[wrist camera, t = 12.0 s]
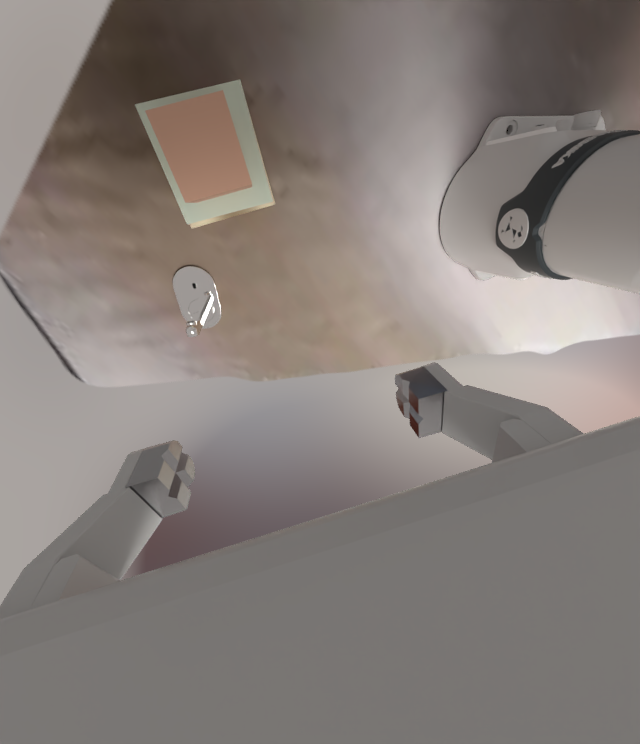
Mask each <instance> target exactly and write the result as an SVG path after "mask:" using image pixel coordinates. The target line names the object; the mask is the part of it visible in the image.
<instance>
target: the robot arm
mask: <svg viewBox="0 0 640 744" xmlns="http://www.w3.org/2000/svg"><path fill="white" fill-rule="evenodd" d="M600 115H601V110H594V111H587V112H583V113H579V114H575V115H574V116H504V117H498V118H496V119H494V120H493V121H492V122H491V123H490V125H489V126H488V128H487V130H486V132H485V133H484V135H483V137H482V139H481V142H480V144H479V146H478V148H477V149H476V151H475V152H474V153H473V155H472V156H471V157H470V158H469V159H468V160H467V161H466V163H465V164H464V165H463V166H462V167H461V169H460V170H459V171H458V173H457V174H456V176H455V177H454V179H453V181H452V182H451V184H450V186H449V188H448V191H447V193H446V196H445V198H444V202H443V205H442V209H441V215H440V236H441V241H442V244H443V247H444V249H445V251H446V253H447V254H448V256H449V257H450V258H451V259H452V260H453V261H455V262H456V263H458V264H460V265H463V266H465V267H467V268H468V269H469V270H470V271H471V273H472V274H473V276H474V277H475V278H476V279H478V280H482V281H485V280H488V279H490V278H492V277H494V276H501V277H506V278H511V279H516V280H526V279H527V278H528V277H530V276H533V275H537V276H540V277H544V278H550V279H551V278H553V279H560V280H567V279H573V278H574V279H578V280H582V281H586V282H590V283H594V284H599V285H603V286H607V287H611V288H615V289H620V290H624V291H628V292H632V293H636V294H640V131H636V130H628V131H626V130H605V123H604V119H603V117H602V116H600ZM507 127H508V133H506V130H507ZM395 384H396V385H397V387H398V388H399V389H398V391H397V392H396V399H397V403H398V406H399V409H400V411H401V412H402V414H403V415H404V417H406V418H409V419H410V426H411V427H412V429H413V430H414V432H415V433H416V434H417V436H418V437H419V438H421V437H424V436H428V435H432V434H435V433H439V432H442V433H443V434H445V435H447V436H449V437H451V438H453V439H454V440H456V441H458V442H460V443H462V444H464V445H466V446H467V447H469V448H471V449H473V450H475V451H477V452H478V453H480V454H482V455H484V456H486V457H488V458H490V459H491V460H492V463H491V464H488V465H484V466H481V467H478V468H475V469H471V470H468V471H465V472H462V473H459V474H456V475H453V476H449V477H446V478H443V479H440V480H437V481H434V482H430V483H427V484H424V485H421V486H418V487H415V488H412V489H408V490H405V491H402V492H399V493H396V494H393V495H389V496H386V497H383V498H380V499H377V500H374V501H371V502H367V503H364V504H361V505H358V506H355V507H352V508H349V509H345V510H342V511H339V512H336V513H333V514H330V515H327V516H323V517H321V518H317V519H314V520H311V521H308V522H305V523H301V524H298V525H295V526H292V527H289V528H286V529H282V530H279V531H276V532H273V533H270V534H267V535H263V536H260V537H257V538H254V539H251V540H248V541H244V542H241V543H238V544H235V545H232V546H229V547H225V548H222V549H219V550H216V551H213V552H210V553H206V554H203V555H200V556H197V557H194V558H191V559H188V560H185V561H181V562H178V563H175V564H172V565H169V566H165V567H163V568H159V569H156V570H153V571H150V572H147V573H144V574H140V575H137V576H134V577H131V578H128V579H124V580H121V579H122V578H123V576H124V575H125V573H126V572H127V570H128V569H129V567H130V566H131V564H132V563H133V561H134V560H135V559H136V557H137V556H138V554H139V553H140V551H141V550H142V548H143V547H144V545H145V544H146V543H147V541H148V540H149V538H150V537H151V535H152V534H153V532H154V531H155V529H156V528H157V527H158V525H159V524H160V522H161V521H162V518H164V517H167V516H169V515H172V514H175V513H178V512H181V511H184V510H187V506H188V503H189V498H190V494H191V491H190V490H189V488H188V487H189V486H190V484H191V483H192V482H193V480H194V476H195V469H194V464H193V461H192V459H191V458H190V456H189V455H187V454H184V453H182V446H181V445H180V443H179V442H178V441H174V440H173V441H169V442H166V443H163V444H158V445H155V446H151V447H148V448H145V449H141V450H138V451H134V452H131V453H130V454H129V455H128V456H127V458H126V459H125V462H124V463H123V465H122V467H121V469H120V471H119V473H118V475H117V477H116V479H115V481H114V483H113V485H112V487H111V489H110V491H109V493H108V494H105V495H103V496H102V497H101V498H99V499H98V500H97V501H96V502H95V503H94V504H93V505H92V506H91V507H90V508H89V509H88V510H87V511H85V513H83V514H82V515H81V516H80V517H79V518H78V519H77V520H76V521H75V522H74V523H73V524H72V525H70V526H69V527H68V528H67V529H66V530H65V531H64V532H63V533H62V534H61V535H60V536H59V537H58V538H56V539H55V540H54V541H53V542H52V543H51V544H50V545H49V546H48V547H47V548H46V549H45V550H44V551H42V552H41V553H40V554H39V555H38V556H37V557H36V558H35V559H34V560H33V561H32V562H31V563H30V564H28V565H27V566H26V567H25V568H24V569H23V571H22V572H21V574H20V576H19V577H18V579H17V580H16V582H15V584H14V585H13V587H12V588H11V590H10V591H9V593H8V594H7V596H6V598H5V599H4V601H3V603H2V604H1V606H0V744H640V416H639V417H635V418H632V419H629V420H626V421H623V422H620V423H617V424H613V425H610V426H607V427H604V428H601V429H598V430H595V431H592V432H589V433H585V434H583V433H582V432H581V431H579V430H578V429H576V428H575V427H574V426H572V425H571V424H569V423H568V422H567V421H565V420H564V419H563V418H561V417H560V416H558V415H557V414H555V413H554V412H553V411H551V410H550V409H549V408H547V407H544V406H540V405H537V404H533V403H530V402H526V401H522V400H519V399H515V398H512V397H508V396H505V395H501V394H498V393H494V392H490V391H487V390H483V389H480V388H476V387H472V386H468V385H466V386H463V385H461V384H460V383H459V382H458V381H457V380H456V379H455V378H454V377H452V376H451V375H450V374H449V373H448V372H447V371H446V370H445V369H443V368H442V367H441V366H440V365H439V364H438V363H435V362H434V363H431V364H428V365H425V366H422V367H420V368H416V369H413V370H410V371H406V372H403V373H400V374H396V375H395ZM120 580H121V581H120Z"/></svg>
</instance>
